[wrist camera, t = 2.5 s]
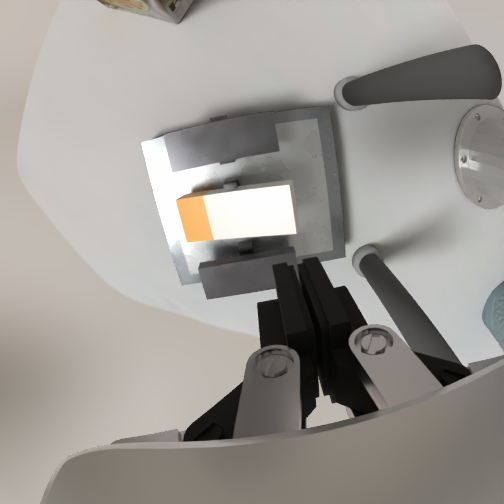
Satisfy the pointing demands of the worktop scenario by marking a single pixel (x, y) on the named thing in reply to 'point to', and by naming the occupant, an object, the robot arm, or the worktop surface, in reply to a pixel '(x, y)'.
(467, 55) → the dark grey post
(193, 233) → the block
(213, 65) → the worktop surface
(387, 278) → the dark grey rod
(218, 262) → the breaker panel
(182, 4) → the coffee box
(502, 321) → the teal green cup
